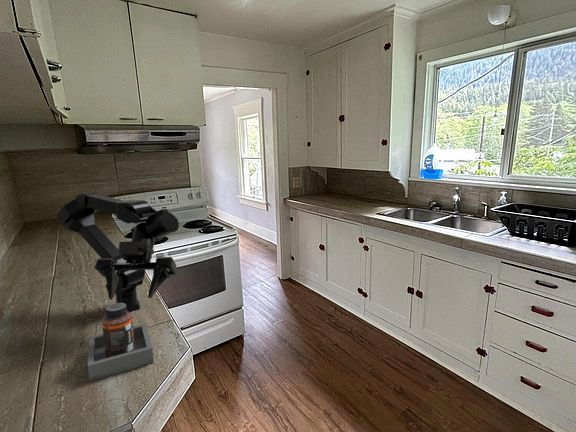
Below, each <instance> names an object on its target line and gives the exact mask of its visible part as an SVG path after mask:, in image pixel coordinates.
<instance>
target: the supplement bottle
mask: <svg viewBox="0 0 576 432" xmlns="http://www.w3.org/2000/svg"><path fill="white" fill-rule="evenodd" d="M101 322H102V323H101V326H102V334H103V338H104V346H105V354H106V357H107V358H109V357H113V356H117V355H120V354H124V353H128V352H131V351H134V349H135V344H134V332H133V327H134V322H133V315H132V313H131V312H130V311H127V308H126V304H125V303H116V302H114V303H113V304H109V305H108V306H106V307H105V316H104V317H103V318H102V321H101Z"/></svg>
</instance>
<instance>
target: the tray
mask: <svg viewBox="0 0 576 432" xmlns="http://www.w3.org/2000/svg"><path fill="white" fill-rule="evenodd" d="M147 327H148V326H147V324H146V323H143V324H139V325H135V326H134V325H133V332H134V344H135V349H134V351H131V352H128V353H124V354H120V355H117V356H113V357H109V358H107V357H106V354H105V346H104V338H103V333H101V334H97V335H91V336H89V338H88V339H89V340H88V354H87V371H88V380H89V382H93V381H96V380H101V379H103V378H107V377H111V376H113V375H116V374H119V373H123V372H127V371H130V370H133V369H136V368H140V367H143V366H147V365H150V364H153V363H154V350H153V348H154V347H153V346H152V345H153V344H152V342H151V338H150V335H149V331H148V328H147Z"/></svg>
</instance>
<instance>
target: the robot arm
mask: <svg viewBox="0 0 576 432" xmlns="http://www.w3.org/2000/svg"><path fill="white" fill-rule="evenodd" d="M97 211H99V212H104V213H107V214H111V215H114V216H115V217H116V219H117V220H119V221H121V222H123V223H125V224H135V226H133V227H132V228H131V229H130V232H131V233H132V234H133V235H132V238H131V241H130V240H129V241H119V242H118V247H117V246H116V245H115V244H114V243H113V242H112V241H111V239H110V238H109V237H108V236H107V235H106V234H105V233H104V232H103V231H102V230H101V229H100V227H98V225H97V224H96V223H95V222H96V220H95V217H96V216H95V214H96V213H97ZM57 221H58V222H59V223H60V224H61V225H62V226H63V227H64V228H66V229H67V230H68V231H70V232H74V233H76V234H78V235H80V236H81V237H82V239H84V240H85V241H86V243H87V244H88V245H89V246H90V247H91V248H92V249H93V251H94V252H95V253H96V254H97V255H98V256H99V257H100V258H99V259H97V260H96V261H95V264H94V267H93V268H94V270H96V271H97V273H99V274H100V275H101V276H102V277H104V278H105V280H106V284H105V288H106V291H107V293H108V294H107V295H108V300H110V301H112V300H113V298H114V297H115V303H125V304H126V308H127V311H128V312H130V311H131V312H132V311H135V310H140V309H141V306H140V305H141V304H140V302H139V299H138V292H137V291H138V290H137V287H138V286H140V285H143V283H144V279H145V275H146V271H152V273H153V274H152V278H151V281H150V286H149V288H148V289H149V291H148V296H147V297H148V299H152V298H153V297H154V295H155V293H156V292H157V290H158V289H159V287H161V285H162V284H163V283H164V282H165V280H166V279H169V278H171V276H175V275H176V274H177V269H178V268H177V264H176V262H175V260H174V259H173V257H172V256H157V257H156V258H155V261H154V262H153V261H152V257H153V256H152V255H155V254H154V253H155V250H154V246H155V240H156V239H158V240H159V239H163V238H164V237H167V236H168V235H172V234H173V233H175V232H177V231H178V229H179V227H180V225H179V224H180V223H179V220H178V218H177V217H176V216H175V215H174V214H173V213H172V212H169V210H168V208H162V209H161V208H160V209H159V210H156V209H155V208H153V207H152V206H151V205H149V202H147V201H146V200H145V199H144V200H143V199H142V200H141V199H132V200H122V199H119V198H114V197H110V196H105V195H102V194H99V193H96V192H84V193H80V194H78V195H77V196H76V197H75V198H74V199H73V200H71V201H69V202H67V203H66V204H64V205H63V206H62V207H61V208H60V210H58V212H57Z"/></svg>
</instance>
